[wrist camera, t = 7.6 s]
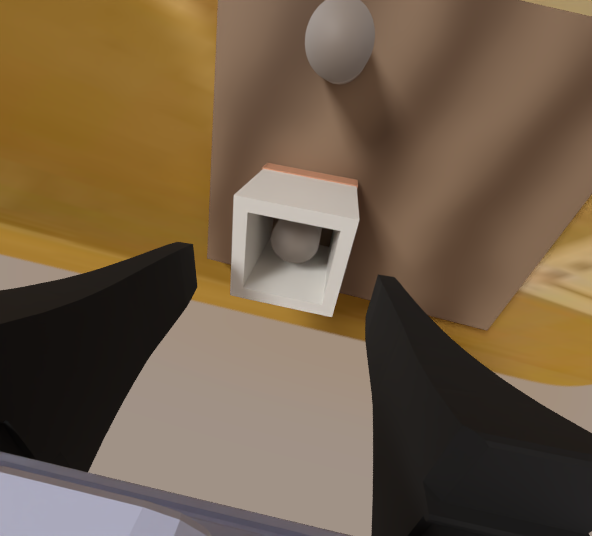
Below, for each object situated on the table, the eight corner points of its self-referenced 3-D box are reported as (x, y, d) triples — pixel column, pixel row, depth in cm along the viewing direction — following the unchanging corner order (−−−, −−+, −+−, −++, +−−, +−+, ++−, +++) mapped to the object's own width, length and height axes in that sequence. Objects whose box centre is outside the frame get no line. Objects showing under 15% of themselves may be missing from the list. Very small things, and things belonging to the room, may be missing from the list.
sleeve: (357, 179, 16) (361, 218, 11) (337, 257, 19) (332, 318, 14) (268, 162, 17) (232, 193, 11) (260, 242, 19) (228, 295, 14)
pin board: (678, 46, 13) (856, 21, 8) (480, 319, 21) (515, 378, 17) (230, -55, 13) (170, -130, 9) (213, 250, 22) (179, 291, 17)
